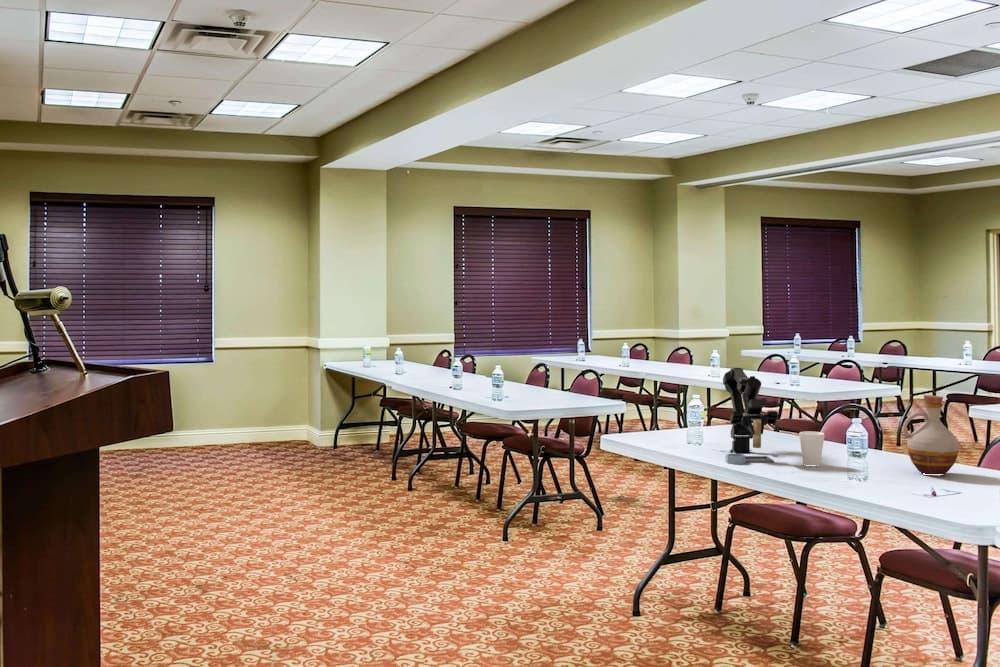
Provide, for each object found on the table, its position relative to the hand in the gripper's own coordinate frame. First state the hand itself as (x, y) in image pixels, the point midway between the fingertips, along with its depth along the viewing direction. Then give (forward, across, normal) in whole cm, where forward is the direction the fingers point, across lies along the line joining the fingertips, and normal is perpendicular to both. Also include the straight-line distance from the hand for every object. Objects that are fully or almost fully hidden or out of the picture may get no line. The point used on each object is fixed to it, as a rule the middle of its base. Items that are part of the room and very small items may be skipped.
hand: (757, 433), depth 371 cm
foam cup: (+12, +20, +5) cm, 24 cm away
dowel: (+3, 0, +5) cm, 6 cm away
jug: (+26, +59, -9) cm, 65 cm away
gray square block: (+11, -10, +6) cm, 16 cm away
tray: (+8, 0, +9) cm, 12 cm away
